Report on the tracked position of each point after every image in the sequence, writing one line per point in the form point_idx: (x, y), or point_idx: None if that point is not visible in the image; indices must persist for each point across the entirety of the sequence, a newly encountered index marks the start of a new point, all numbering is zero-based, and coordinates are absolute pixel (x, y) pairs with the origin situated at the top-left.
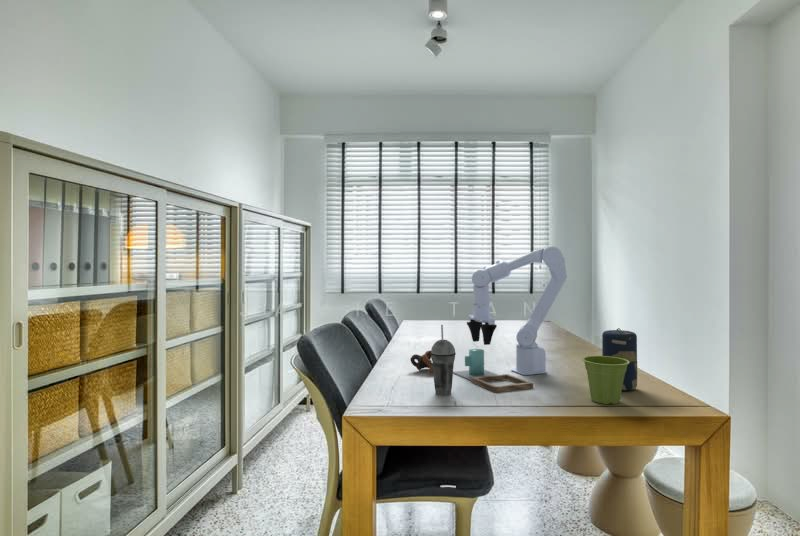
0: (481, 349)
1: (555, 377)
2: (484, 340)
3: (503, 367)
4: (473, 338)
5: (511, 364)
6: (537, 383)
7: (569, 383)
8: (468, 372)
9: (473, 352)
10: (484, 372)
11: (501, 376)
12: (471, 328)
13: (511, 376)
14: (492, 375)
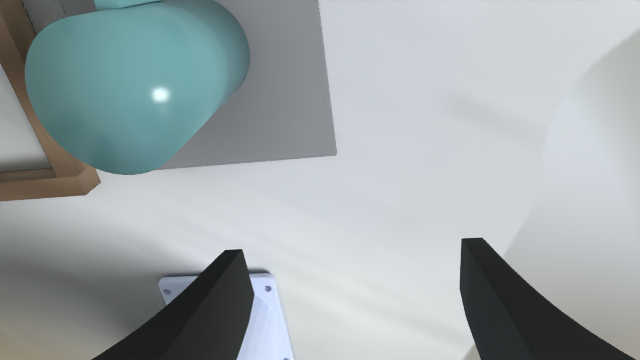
0: (144, 165)
1: None
2: (202, 274)
3: (371, 280)
4: (471, 259)
5: (425, 340)
6: (9, 252)
7: (22, 344)
8: (255, 13)
9: (41, 38)
10: (234, 120)
11: (45, 143)
12: (529, 352)
13: (23, 184)
14: None
